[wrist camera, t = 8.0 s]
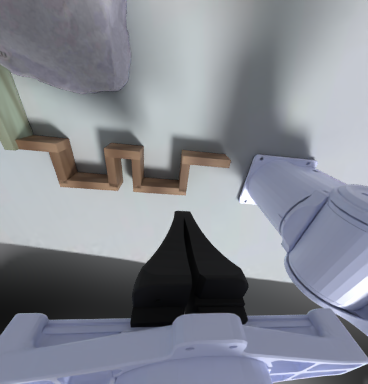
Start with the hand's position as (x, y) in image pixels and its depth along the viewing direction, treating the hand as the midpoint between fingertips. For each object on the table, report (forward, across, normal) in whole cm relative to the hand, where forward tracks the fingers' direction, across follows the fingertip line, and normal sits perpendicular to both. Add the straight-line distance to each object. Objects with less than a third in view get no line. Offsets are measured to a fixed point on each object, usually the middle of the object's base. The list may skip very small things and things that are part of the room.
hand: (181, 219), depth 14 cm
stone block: (+10, +12, -14) cm, 21 cm away
